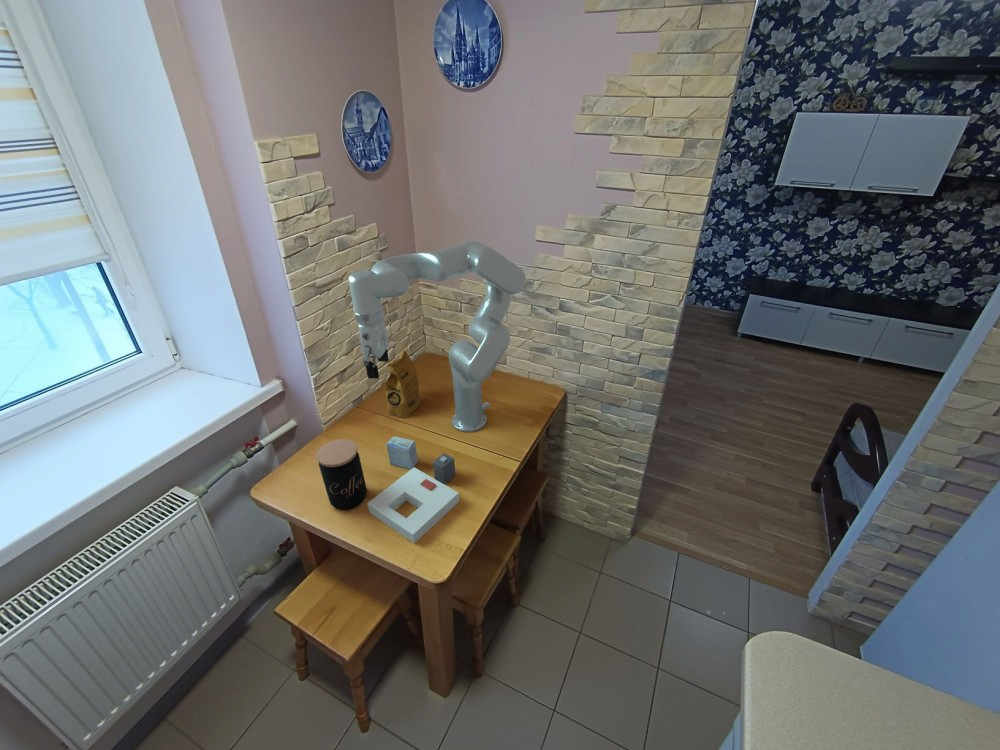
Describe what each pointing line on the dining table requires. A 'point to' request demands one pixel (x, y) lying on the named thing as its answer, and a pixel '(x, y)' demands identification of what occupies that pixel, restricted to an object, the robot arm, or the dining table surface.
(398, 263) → the robot arm
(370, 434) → the dining table surface
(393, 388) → the coffee package
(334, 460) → the coffee jar
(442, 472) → the plug
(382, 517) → the socket plate
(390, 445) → the medicine box
